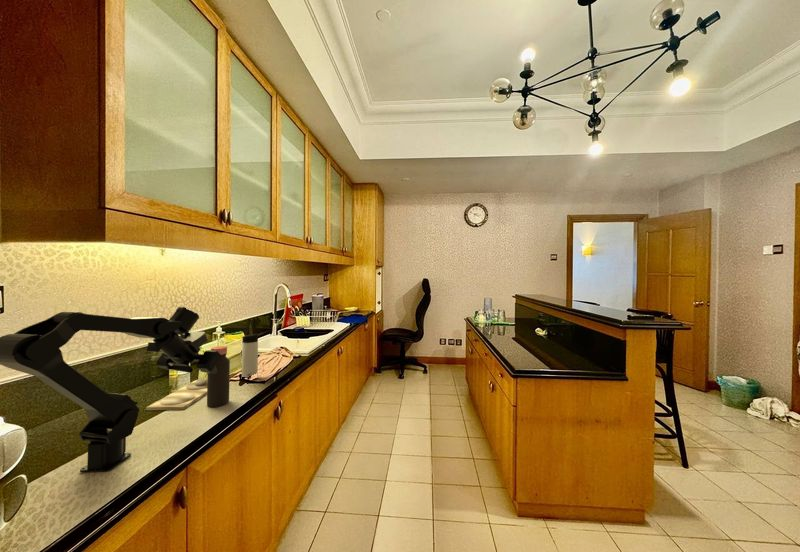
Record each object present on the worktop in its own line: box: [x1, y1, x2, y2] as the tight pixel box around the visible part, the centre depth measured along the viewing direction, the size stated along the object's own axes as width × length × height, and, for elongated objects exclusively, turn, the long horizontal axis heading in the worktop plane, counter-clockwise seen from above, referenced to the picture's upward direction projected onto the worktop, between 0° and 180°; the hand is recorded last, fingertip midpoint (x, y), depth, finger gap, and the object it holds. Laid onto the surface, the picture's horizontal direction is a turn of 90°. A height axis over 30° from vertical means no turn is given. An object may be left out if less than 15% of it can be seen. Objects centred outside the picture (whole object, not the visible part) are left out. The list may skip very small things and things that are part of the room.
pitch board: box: [145, 378, 207, 411], centre depth 114 cm, size 27×12×3 cm, turn 4°
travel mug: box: [241, 333, 259, 378], centre depth 132 cm, size 6×7×20 cm
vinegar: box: [206, 345, 231, 408], centre depth 106 cm, size 7×7×20 cm
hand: (203, 372), depth 99 cm, fingers open, 9 cm apart
